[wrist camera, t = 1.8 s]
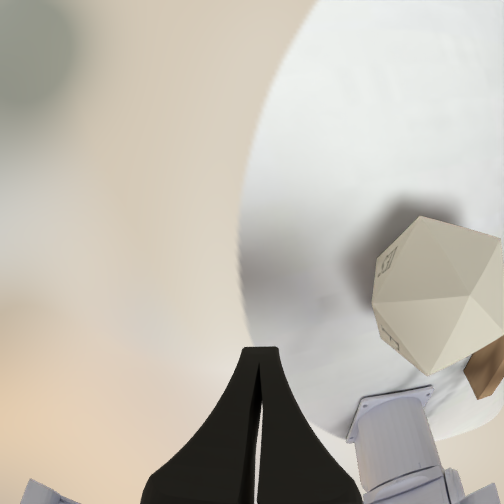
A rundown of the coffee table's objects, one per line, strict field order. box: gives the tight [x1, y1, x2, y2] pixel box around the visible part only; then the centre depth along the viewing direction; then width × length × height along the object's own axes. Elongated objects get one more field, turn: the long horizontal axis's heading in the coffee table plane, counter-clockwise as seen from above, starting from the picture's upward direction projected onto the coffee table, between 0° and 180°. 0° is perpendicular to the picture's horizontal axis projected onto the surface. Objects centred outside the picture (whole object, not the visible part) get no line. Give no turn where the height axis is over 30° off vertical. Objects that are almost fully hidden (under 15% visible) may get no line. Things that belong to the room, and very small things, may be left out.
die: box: [371, 216, 504, 377], centre depth 15 cm, size 8×9×10 cm
